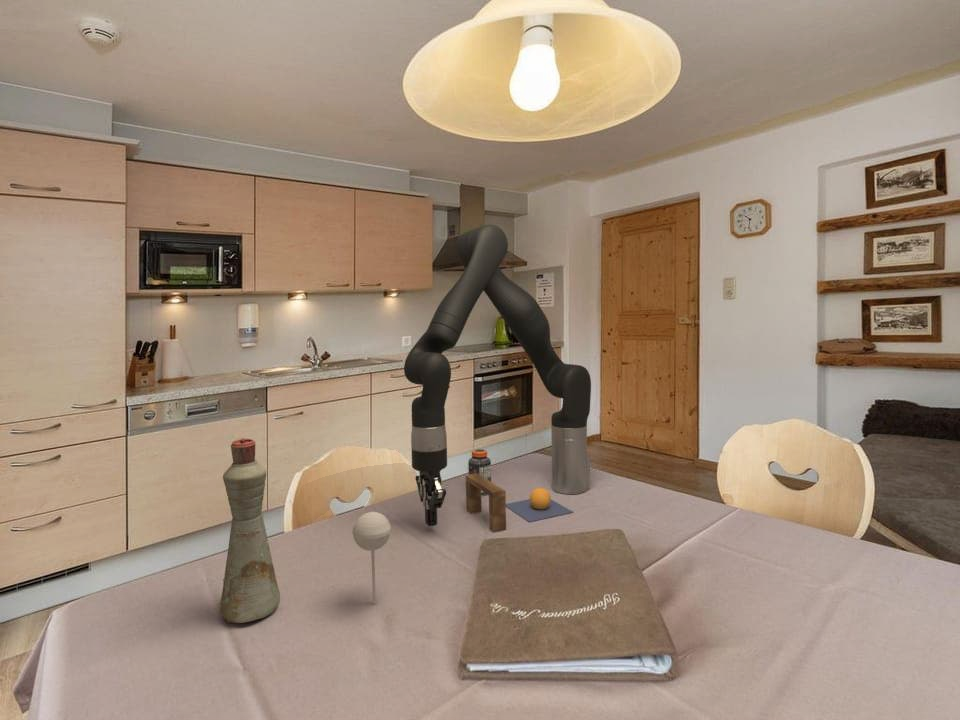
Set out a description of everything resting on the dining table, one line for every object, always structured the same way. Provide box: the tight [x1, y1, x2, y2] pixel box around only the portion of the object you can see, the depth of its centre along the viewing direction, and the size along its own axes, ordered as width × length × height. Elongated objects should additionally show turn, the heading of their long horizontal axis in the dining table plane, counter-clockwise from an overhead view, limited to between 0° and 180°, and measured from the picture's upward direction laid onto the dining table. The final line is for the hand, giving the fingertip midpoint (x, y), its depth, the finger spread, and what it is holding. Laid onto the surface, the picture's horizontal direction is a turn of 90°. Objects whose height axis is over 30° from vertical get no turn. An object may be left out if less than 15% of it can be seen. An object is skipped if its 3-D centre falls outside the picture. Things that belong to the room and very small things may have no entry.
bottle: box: [219, 437, 281, 624], centre depth 79 cm, size 9×9×28 cm
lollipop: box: [352, 511, 392, 605], centre depth 81 cm, size 6×6×15 cm
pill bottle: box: [467, 448, 492, 496], centre depth 133 cm, size 6×6×11 cm
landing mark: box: [506, 498, 574, 523], centre depth 121 cm, size 12×12×1 cm
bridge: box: [465, 473, 507, 533], centre depth 115 cm, size 3×14×9 cm, turn 26°
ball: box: [529, 487, 552, 510], centre depth 121 cm, size 5×5×5 cm
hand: (431, 524), depth 109 cm, fingers closed
